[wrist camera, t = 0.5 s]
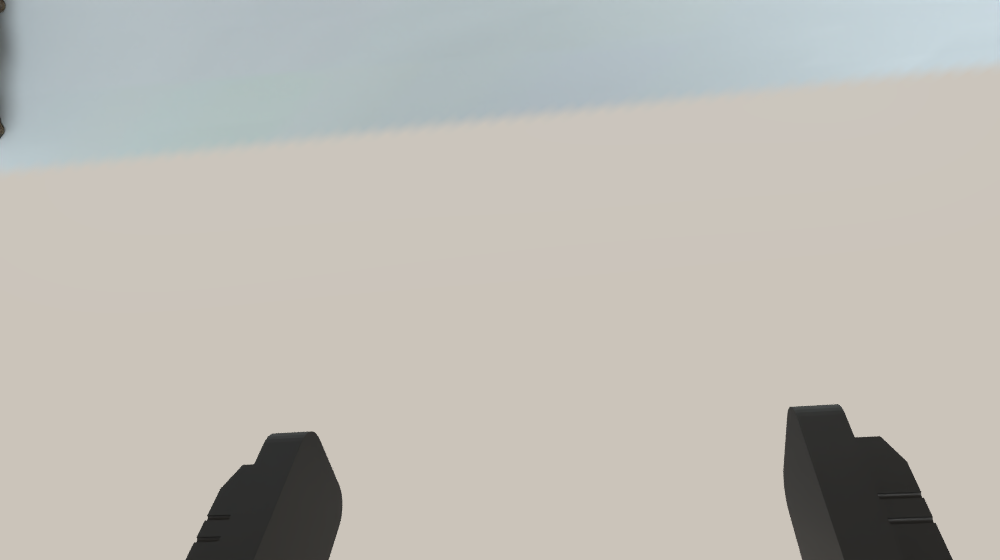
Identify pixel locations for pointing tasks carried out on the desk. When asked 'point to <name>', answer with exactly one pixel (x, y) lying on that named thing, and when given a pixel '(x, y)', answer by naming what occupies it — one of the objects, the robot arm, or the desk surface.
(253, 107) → the desk surface
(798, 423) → the robot arm
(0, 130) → the rhino figurine
